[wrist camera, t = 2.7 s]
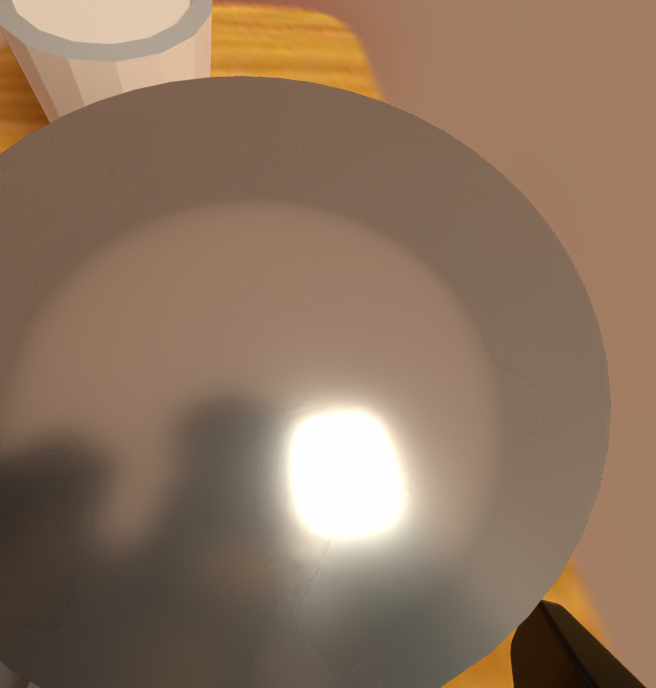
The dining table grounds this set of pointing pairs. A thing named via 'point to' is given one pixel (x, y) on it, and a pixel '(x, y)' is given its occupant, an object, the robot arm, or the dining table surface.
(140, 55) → the white cup
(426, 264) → the silver metal cylinder
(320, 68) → the dining table surface
